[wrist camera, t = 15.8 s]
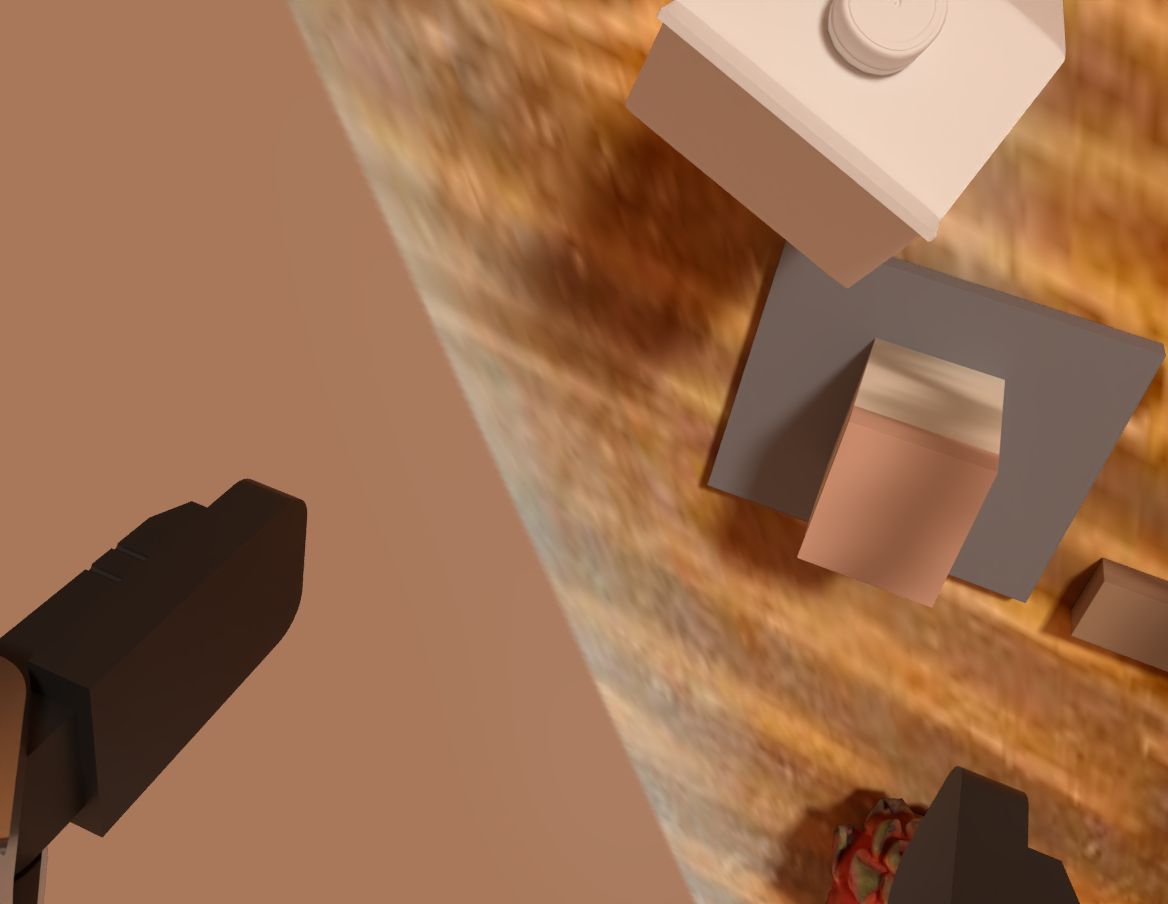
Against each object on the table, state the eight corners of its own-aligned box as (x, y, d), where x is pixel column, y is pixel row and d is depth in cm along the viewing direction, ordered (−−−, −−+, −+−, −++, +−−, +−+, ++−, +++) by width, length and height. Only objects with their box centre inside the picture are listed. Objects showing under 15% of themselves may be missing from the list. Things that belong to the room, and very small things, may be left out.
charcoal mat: (713, 473, 49) (707, 485, 49) (793, 225, 43) (788, 233, 42) (1025, 589, 47) (1025, 603, 46) (1163, 344, 40) (1165, 355, 39)
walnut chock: (1070, 611, 47) (1071, 635, 45) (1102, 557, 45) (1104, 581, 44) (1216, 665, 46) (1221, 692, 44) (1255, 612, 44) (1261, 638, 43)
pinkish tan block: (809, 514, 47) (792, 573, 38) (876, 333, 45) (873, 355, 36) (925, 556, 46) (934, 626, 38) (999, 373, 44) (1025, 405, 35)
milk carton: (907, 137, 40) (818, 357, 24) (754, 9, 39) (565, 150, 24) (1062, -36, 36) (1073, 96, 20) (892, -181, 35) (770, -158, 20)
